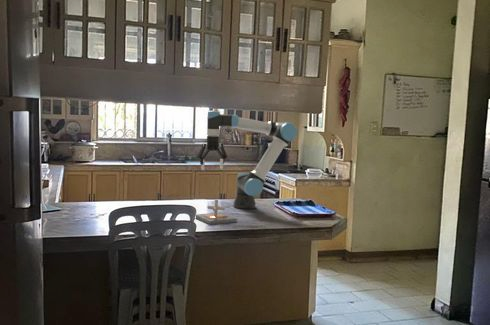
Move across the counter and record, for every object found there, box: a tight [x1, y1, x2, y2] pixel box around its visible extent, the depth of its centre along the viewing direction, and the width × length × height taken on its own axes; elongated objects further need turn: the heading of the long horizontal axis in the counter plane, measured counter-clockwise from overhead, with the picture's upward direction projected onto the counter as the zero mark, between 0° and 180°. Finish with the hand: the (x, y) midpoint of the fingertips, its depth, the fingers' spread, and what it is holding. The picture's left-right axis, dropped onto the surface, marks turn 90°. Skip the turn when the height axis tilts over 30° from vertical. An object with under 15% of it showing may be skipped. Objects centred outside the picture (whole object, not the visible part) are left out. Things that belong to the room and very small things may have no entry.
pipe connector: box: [207, 198, 226, 217], centre depth 269 cm, size 10×10×10 cm
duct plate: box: [195, 212, 238, 226], centre depth 269 cm, size 18×18×2 cm
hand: (212, 169), depth 289 cm, fingers open, 13 cm apart
